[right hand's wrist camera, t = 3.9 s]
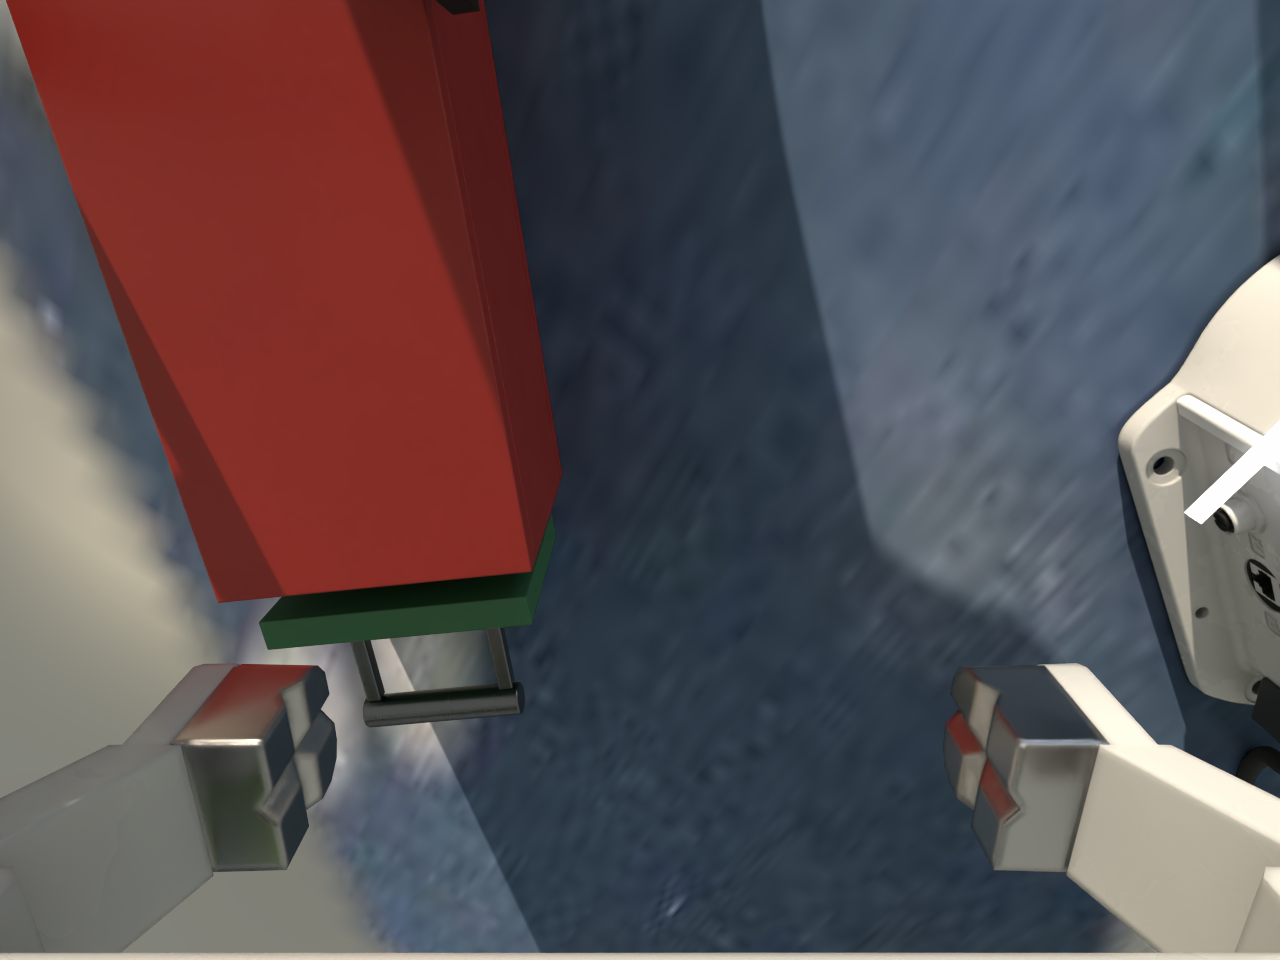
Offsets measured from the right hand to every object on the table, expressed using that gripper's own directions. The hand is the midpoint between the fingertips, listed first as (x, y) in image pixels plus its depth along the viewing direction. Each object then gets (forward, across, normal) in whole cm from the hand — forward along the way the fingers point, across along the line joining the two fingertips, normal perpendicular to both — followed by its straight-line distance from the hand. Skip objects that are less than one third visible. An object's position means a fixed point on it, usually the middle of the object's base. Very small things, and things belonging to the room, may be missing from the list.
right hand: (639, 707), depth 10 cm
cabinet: (+25, +10, -4) cm, 27 cm away
